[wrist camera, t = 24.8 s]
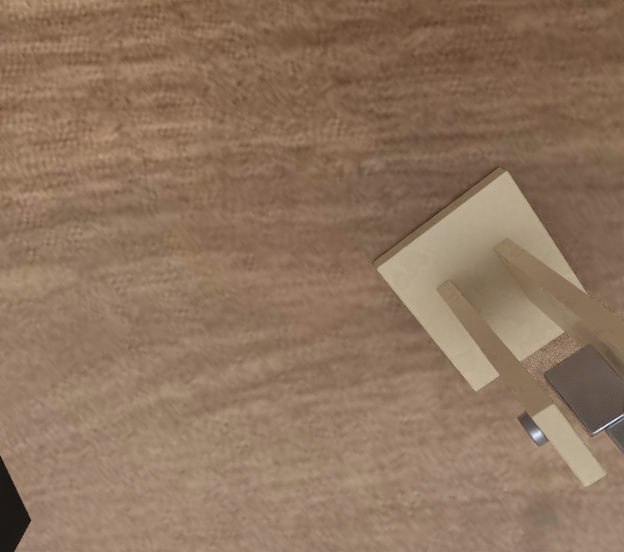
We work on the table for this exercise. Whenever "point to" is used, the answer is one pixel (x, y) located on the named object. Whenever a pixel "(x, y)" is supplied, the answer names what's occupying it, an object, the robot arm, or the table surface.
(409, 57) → the table surface
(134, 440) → the table surface
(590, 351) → the lever
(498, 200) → the bracket
